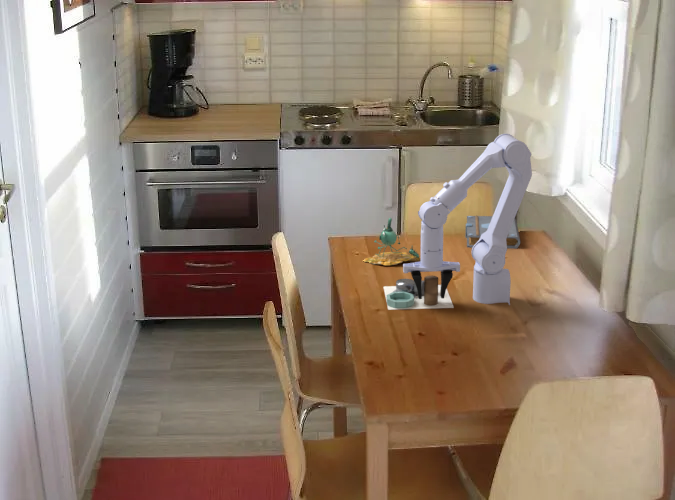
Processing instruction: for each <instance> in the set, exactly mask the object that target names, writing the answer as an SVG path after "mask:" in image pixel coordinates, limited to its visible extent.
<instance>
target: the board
mask: <svg viewBox="0 0 675 500" xmlns="http://www.w3.org/2000/svg"><path fill="white" fill-rule="evenodd" d="M440 290H441V284H438V304H437V305H434V306H429V305H425V304H424V280H422V282H421V293H422V299H419V298H418V292H416V293H414V294H413V296H414V304H413V305H412V306H411V307H408V308H393V307H390V306H388V305H387V304H386V306H387V310H388V311H390V310H393V311H394V310H421V309H424V310H425V309H426V310H427V309H454V308H455V307H454V304H453V302H452V299H451V296H450V293H449V291H448V288H447V289H446V292H445V296H444V298H441V296H440ZM383 291H384V296H385V301H386V303H387V295H388V294H390V293H392V292H396V285H391V286H388V285H385V286H383Z"/></svg>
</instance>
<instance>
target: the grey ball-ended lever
mask: <svg viewBox="0 0 675 500" xmlns="http://www.w3.org/2000/svg"><path fill="white" fill-rule="evenodd" d="M395 286H396V292H407V293H411V294H414V293H416V292H418V291H417V287H416V284H415V282H414V280H413V279H410V278H399V279H397V280H396V281H395Z"/></svg>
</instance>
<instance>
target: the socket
mask: <svg viewBox="0 0 675 500" xmlns="http://www.w3.org/2000/svg"><path fill="white" fill-rule="evenodd" d="M413 304H414V296H413V294H411V293H407V292H392V293H390V294H388V295H387V302H386V306H387V305H388V306H390V307H393V308H408V307H411V306H412V305H413ZM388 306H387V307H388Z"/></svg>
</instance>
